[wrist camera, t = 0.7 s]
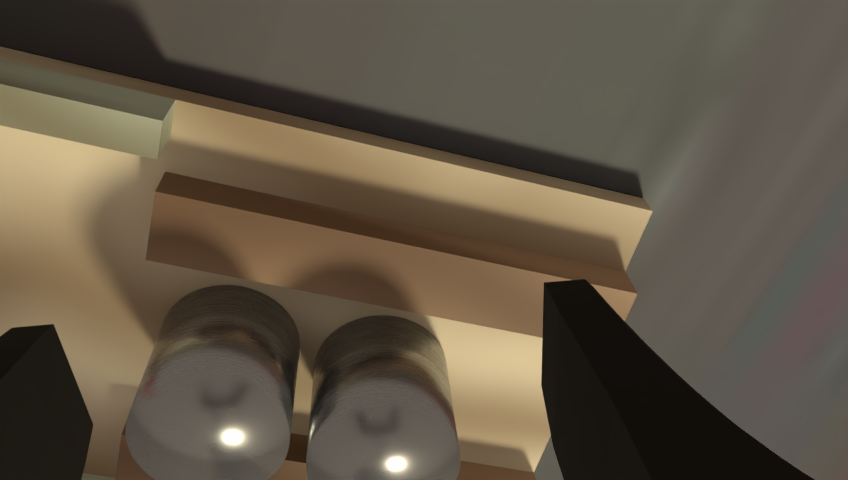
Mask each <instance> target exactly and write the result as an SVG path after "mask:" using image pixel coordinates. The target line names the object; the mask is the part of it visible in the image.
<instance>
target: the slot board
mask: <svg viewBox="0 0 848 480" xmlns="http://www.w3.org/2000/svg"><path fill="white" fill-rule="evenodd" d="M651 214H652V209H651V208H650V207H649V205H648V204H647V202H646V201H645V199H644V198H640V197H635V196H631V195H627V194H623V193H618V192H614V191H610V190H606V189H601V188H597V187H593V186H589V185H585V184H580V183H576V182H572V181H568V180H563V179H559V178H555V177H551V176H546V175H542V174H538V173H534V172H530V171H525V170H521V169H517V168H513V167H508V166H504V165H500V164H496V163H491V162H487V161H483V160H479V159H474V158H470V157H466V156H462V155H458V154H453V153H449V152H445V151H441V150H436V149H432V148H428V147H424V146H419V145H415V144H411V143H407V142H403V141H398V140H394V139H390V138H386V137H381V136H377V135H373V134H369V133H364V132H360V131H356V130H352V129H348V128H343V127H339V126H335V125H331V124H326V123H322V122H318V121H314V120H309V119H305V118H301V117H297V116H292V115H288V114H284V113H280V112H276V111H271V110H267V109H263V108H259V107H254V106H250V105H246V104H242V103H237V102H233V101H229V100H225V99H221V98H216V97H212V96H208V95H204V94H199V93H195V92H191V91H187V90H182V89H178V88H174V87H170V86H166V85H161V84H157V83H153V82H149V81H144V80H140V79H136V78H132V77H127V76H123V75H119V74H115V73H111V72H106V71H102V70H98V69H94V68H89V67H85V66H81V65H77V64H72V63H68V62H64V61H60V60H55V59H51V58H47V57H43V56H39V55H34V54H30V53H26V52H22V51H17V50H13V49H9V48H5V47H0V336H1V335H3V334H4V333H5V332H7V331H8V330H9V329H11V328H14V327H25V326H37V325H49V324H54V326H55V329H56V331H57V334H58V336H59V339H60V342H61V344H62V347H63V349H64V352H65V354H66V357H67V359H68V362H69V364H70V367H71V369H72V372H73V374H74V377H75V379H76V382H77V384H78V387H79V389H80V392H81V394H82V397H83V400H84V402H85V405H86V407H87V410H88V412H89V415H90V417H91V420H92V422H93V429H92V434H91V439H90V444H89V448H88V453H87V458H86V463H85V467H84V471H83V475H82V479H81V480H155V479H153V478H152V477H150V476H149V475H148V474H147V473H146V472H145V471H144V470H143V469H142V468H141V467H140V466H139V465H138V464H137V462H136V461H135V460H134V458H133V457H132V455H131V453H130V450H129V448H128V445H127V442H126V434H125V430H126V422H127V417H128V415H129V412H130V409H131V407H132V404H133V401H134V399H135V396H136V393H137V391H138V388H139V385H140V383H141V380H142V377H143V375H144V372H145V369H146V366H147V364H148V361H149V358H150V356H151V353H152V350H153V348H154V345H155V342H156V340H157V337H158V334H159V332H160V329H161V326H162V324H163V321H164V319H165V317H166V315H167V313H168V312H169V310H170V309H171V308H172V307H173V306H174V304H175V303H177V302H178V301H179V300H180V299H181V298H183V297H184V296H186V295H188V294H189V293H192V292H194V291H196V290H199V289H202V288H205V287H210V286H216V285H236V286H243V287H247V288H251V289H254V290H256V291H259V292H261V293H263V294H265V295H267V296H269V297H271V298H272V299H274V300H275V301H277V302H278V303H279V304H280V305H281V306H283V308H284V309H285V310H286V311H287V312H288V313H289V314H290V316H291V317H292V319H293V321H294V323H295V325H296V327H297V330H298V333H299V338H300V352H299V362H298V371H297V380H296V389H295V398H294V407H293V416H292V425H291V434H290V443H289V449H288V453H287V455H286V458H285V460H284V462H283V464H282V465H281V467H280V468H279V469H278V470H277V472H276V473H275V474H274V475H273V476H272V477H270V478H269V479H268V480H308V477H307V472H306V456H307V445H308V433H309V421H310V409H311V397H312V385H313V373H314V363H315V358H316V355H317V352H318V350H319V348H320V347H321V345H322V343H323V342H324V341H325V339H326V338H327V337H328V336H329V335H330V334H331V333H332V332H334V331H335V330H336V329H338V328H339V327H341V326H342V325H344V324H346V323H348V322H351V321H353V320H356V319H359V318H362V317H367V316H375V315H390V316H397V317H401V318H405V319H408V320H411V321H413V322H415V323H417V324H419V325H421V326H423V327H424V328H425V329H427V330H428V331H429V332H430V333H431V334H432V335H434V337H435V338H436V339H437V340H438V342H439V343H440V345H441V347H442V349H443V351H444V354H445V358H446V363H447V370H448V377H449V383H450V390H451V397H452V403H453V410H454V417H455V424H456V430H457V437H458V444H459V451H460V462H461V463H460V470H459V474H458V477H457V479H456V480H536V479H535V476H534V471H535V469H536V466H537V464H538V462H539V460H540V458H541V455H542V453H543V451H544V449H545V447H546V444H547V442H548V440H549V438H550V436H551V433H550V428H549V423H548V418H547V413H546V407H545V402H544V397H543V392H542V386H541V378H542V337H543V296H544V282H556V281H567V280H579V279H586V280H587V281H588V282H589V283H590V284H591V285H592V286H593V287H594V288H595V289H596V290H597V291H598V293H599V294H600V295H601V296H602V297H603V298H604V299H605V300H606V302H607V303H608V304H609V305H610V306H611V307H612V308H613V309H614V310H615V311H616V313H617V314H618V315H619V316H620V317H621V318H622V319H623V320H624V321H625V319H626V317H627V315H628V313H629V311H630V309H631V307H632V304H633V302H634V300H635V298H636V296H637V292H636V290H635V288H634V286H633V285H632V283H631V281H630V279H629V277H628V275H627V274H626V272H625V271H626V268H627V266H628V264H629V262H630V260H631V258H632V255H633V253H634V251H635V249H636V247H637V244H638V242H639V240H640V238H641V236H642V233H643V231H644V229H645V227H646V225H647V222H648V220H649V218H650V216H651Z"/></svg>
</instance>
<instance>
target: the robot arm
mask: <svg viewBox="0 0 848 480" xmlns="http://www.w3.org/2000/svg"><path fill="white" fill-rule="evenodd" d="M541 386H542V392H543V397H544V402H545V407H546V413H547V418H548V423H549V428H550V433H551V438H552V442H553V447H554V450H555V453H556V456H557V460H558V463H559V466H560V469H561V472H562V475H563V478H564V480H814V479H813V478H811V477H809V476H808V475H806V474H805V473H803V472H801V471H800V470H798V469H797V468H795V467H794V466H792V465H791V464H789V463H788V462H787V461H785V460H784V459H782V458H781V457H779V456H778V455H776V454H775V453H773V452H772V451H771V450H769V449H768V448H767V447H765V446H764V445H763V444H761V443H760V442H758V441H757V440H756V439H754V438H753V437H752V436H750V435H749V434H748V433H746V432H745V431H743V430H742V429H741V428H739V427H738V426H737V425H736V424H734V423H733V422H732V421H731V420H729V419H728V418H727V417H726V416H725V415H723V414H722V413H721V412H720V411H718V410H717V409H716V408H715V407H714V406H713V405H711V404H710V403H709V402H708V401H707V400H706V399H705V398H703V397H702V396H701V395H700V394H699V393H698V392H696V391H695V390H694V389H693V388H692V387H691V386H690V385H689V384H688V383H686V382H685V381H684V380H683V379H682V378H681V377H680V376H679V375H678V374H677V373H676V372H675V371H674V370H672V369H671V368H670V367H669V366H668V365H667V364H666V363H665V362H664V361H663V360H662V359H661V358H660V357H659V356H658V355H657V354H656V353H655V352H654V351H653V350H652V349H651V348H650V347H649V346H648V345H647V344H646V343H645V342H644V341H643V340H642V339H641V338H640V337H639V336H638V335H637V334H636V333H635V332H634V331H633V330H632V329H631V328H630V327H629V325H628V324H627V323H626V322H625V321H624V320H623V319H622V318H621V317H620V316H619V315H618V314H617V313H616V311H615V310H614V309H613V308H612V307H611V306H610V305H609V304H608V303H607V302H606V300H605V299H604V298H603V297H602V296H601V295H600V294H599V293H598V291H597V290H596V289H595V288H594V287H593V286H592V285H591V284H590V283H589V282H588V281H587V280H586V279H579V280H567V281H556V282H544V296H543V337H542V378H541ZM92 429H93V422H92V420H91V417H90V415H89V412H88V410H87V407H86V405H85V402H84V400H83V397H82V394H81V392H80V389H79V387H78V384H77V382H76V379H75V377H74V374H73V372H72V369H71V367H70V364H69V362H68V359H67V357H66V354H65V352H64V349H63V347H62V344H61V342H60V339H59V336H58V334H57V331H56V329H55V326H54V324H49V325H37V326H25V327H14V328H11V329H9V330H8V331H7V332H5V333H4V334H3V335H1V336H0V480H81V479H82V475H83V471H84V467H85V463H86V458H87V453H88V448H89V444H90V439H91V434H92Z"/></svg>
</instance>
